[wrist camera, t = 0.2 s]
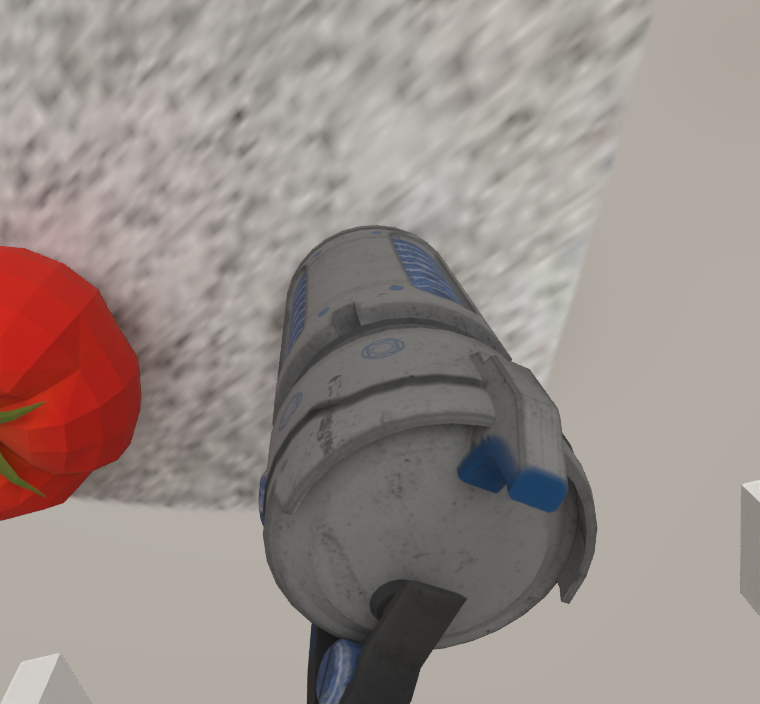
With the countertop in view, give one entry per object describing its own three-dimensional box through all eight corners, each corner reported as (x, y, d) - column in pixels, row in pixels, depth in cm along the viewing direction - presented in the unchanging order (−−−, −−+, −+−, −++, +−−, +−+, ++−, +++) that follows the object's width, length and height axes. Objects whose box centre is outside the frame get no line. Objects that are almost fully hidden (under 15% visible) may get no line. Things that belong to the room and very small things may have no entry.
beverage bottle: (247, 376, 40) (160, 773, 18) (332, 179, 36) (365, 365, 13) (392, 430, 43) (482, 838, 20) (488, 251, 39) (741, 512, 16)
